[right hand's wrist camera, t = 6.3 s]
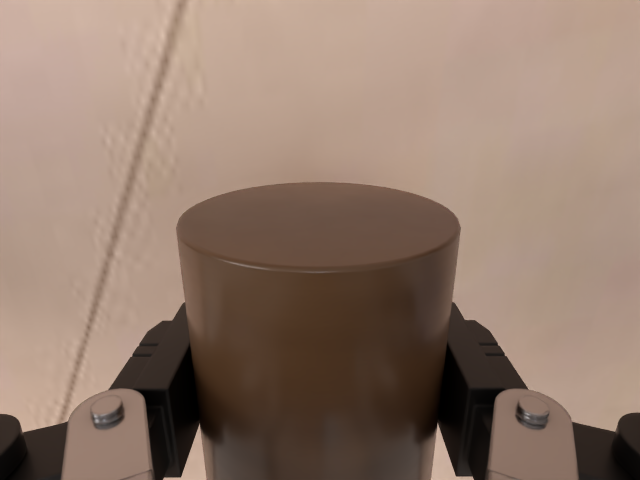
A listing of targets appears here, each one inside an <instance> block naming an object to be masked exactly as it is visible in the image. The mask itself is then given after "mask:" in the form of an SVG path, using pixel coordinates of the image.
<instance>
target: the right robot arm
mask: <svg viewBox="0 0 640 480" xmlns="http://www.w3.org/2000/svg"><path fill="white" fill-rule="evenodd" d="M199 424H200V420H199V412H198V403H197V395H196V387H195V379H194V371H193V362H192V354H191V346H190V338H189V330H188V321H187V313H186V305H185V303H183V304H182V306H181V307H180V309H179V311H178V312H177V314H176V316H175V317H174V319H173V321H162V322H160V323H159V324H158V325H156V326H155V327H153V328H152V329H151V330H149V331H148V332H147V333H146V335H145V336H144V338H143V339H142V341H141V342H140V345H139V346H138V347H137V348H136V350H135V351H134V353H133V356H132V357H130V359H129V360H128V362H127V363H126V365H125V366H124V368H123V369H122V371H121V372H120V374H119V375H118V377H117V378H116V380H115V381H114V383H113V384H112V385H111V387H110V388H109V390H108V391H104V392H101V393H99V394H96V395H94V396H92V397H90V398H88V399H87V400H85V401H84V402H82V403H81V404H80V405H79V406H78V407H77V408H76V409H75V410H74V411H73V412H72V414H71V415H70V417H69V420H68V422H65V423H62V424H58V425H54V426H50V427H45V428H41V429H36V430H32V431H27V432H22V429H21V425H20V423H19V421H18V419H17V418H15V417H13V416H11V415H7V414H0V480H163V478H164V477H181V476H182V473H183V470H184V467H185V464H186V461H187V458H188V455H189V452H190V450H191V447H192V444H193V441H194V438H195V435H196V432H197V429H198V426H199ZM438 425H439V427H440V430H441V433H442V436H443V439H444V442H445V445H446V448H447V451H448V454H449V457H450V460H451V463H452V466H453V469H454V472H455V475H456V476H473V478H474V480H640V413H630V414H626V415H624V416H622V417H621V418H620V420H619V422H618V425H617V428H616V432H613V431H609V430H604V429H600V428H596V427H591V426H587V425H582V424H578V423H575V422H572V420H571V417H570V415H569V414H568V412H567V411H566V410H565V409H564V408H563V407H562V406H561V405H560V404H559V403H558V402H556V401H555V400H553V399H552V398H550V397H548V396H546V395H544V394H541V393H539V392H536V391H532V390H528V388H527V387H526V385H525V384H524V382H523V381H522V379H521V378H520V376H519V375H518V373H517V372H516V370H515V368H514V367H513V365H512V364H511V362H510V361H509V359H508V358H507V356H505V353H504V352H503V350H502V349H501V347H500V346H498V343H497V341H496V340H495V338H494V337H493V335H492V334H491V332H490V331H489V330H488V329H486V328H485V327H483V326H482V325H481V324H479V323H478V322H476V321H475V320H465V319H464V318H463V316H462V314H461V313H460V311H459V309H458V308H457V306H456V304H455V303H454V302H452V305H451V314H450V322H449V331H448V339H447V347H446V356H445V364H444V373H443V381H442V389H441V398H440V406H439V415H438Z"/></svg>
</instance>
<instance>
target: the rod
mask: <svg viewBox="0 0 640 480" xmlns="http://www.w3.org/2000/svg"><path fill="white" fill-rule="evenodd" d="M176 230H177V239H178V247H179V256H180V264H181V272H182V280H183V289H184V297H185V305H186V313H187V321H188V330H189V338H190V346H191V354H192V362H193V371H194V379H195V387H196V395H197V403H198V412H199V420H200V428H201V436H202V444H203V453H204V461H205V469H206V477H207V480H431V473H432V465H433V457H434V448H435V440H436V431H437V423H438V415H439V406H440V398H441V389H442V381H443V373H444V364H445V356H446V347H447V339H448V331H449V322H450V314H451V305H452V297H453V289H454V280H455V272H456V263H457V255H458V247H459V238H460V230H461V227H460V224H459V221H458V218H457V217H456V216H455V214H454V213H453V212H451V211H450V210H449V209H448V208H446V207H444V206H443V205H441V204H439V203H437V202H435V201H433V200H430V199H427V198H425V197H422V196H419V195H416V194H412V193H409V192H405V191H400V190H396V189H390V188H385V187H378V186H371V185H362V184H350V183H327V182H311V183H288V184H276V185H267V186H260V187H253V188H247V189H242V190H237V191H233V192H229V193H225V194H222V195H218V196H216V197H213V198H210V199H207V200H205V201H203V202H201V203H198V204H196V205H195V206H193V207H191V208H190V209H188V210H187V211H186V212H185V213H183V215H182V216H181V217H180V219H179V221H178V224H177V227H176Z"/></svg>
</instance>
